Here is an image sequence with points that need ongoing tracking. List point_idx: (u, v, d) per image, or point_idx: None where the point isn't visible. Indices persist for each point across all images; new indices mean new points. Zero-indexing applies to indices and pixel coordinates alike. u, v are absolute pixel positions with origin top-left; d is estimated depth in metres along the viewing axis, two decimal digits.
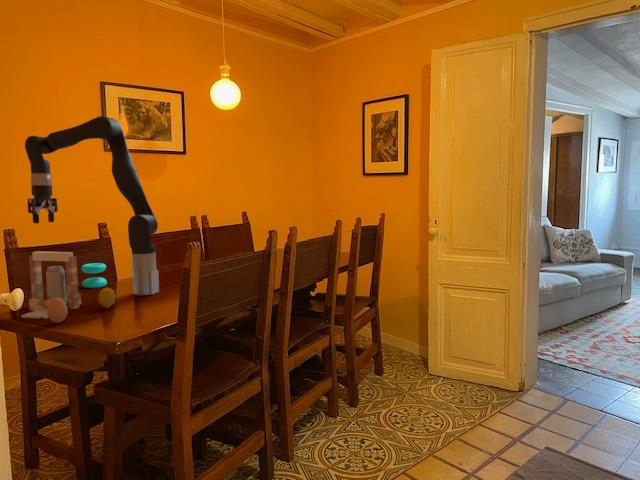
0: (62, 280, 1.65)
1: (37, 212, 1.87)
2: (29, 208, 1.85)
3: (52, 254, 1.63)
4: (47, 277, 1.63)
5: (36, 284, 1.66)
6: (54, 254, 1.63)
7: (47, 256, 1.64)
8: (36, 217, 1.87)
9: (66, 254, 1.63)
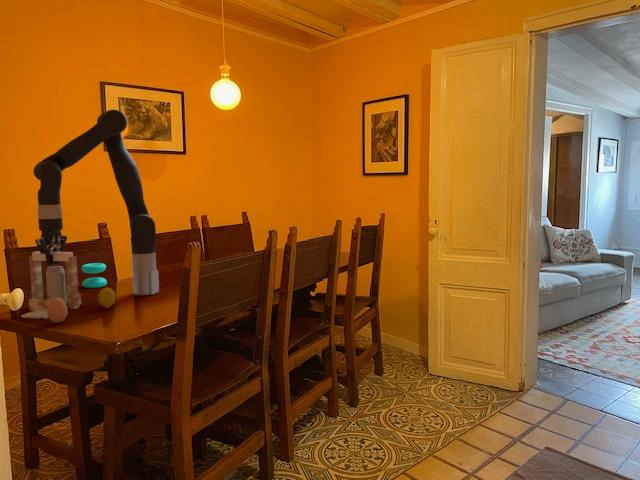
0: (62, 280, 1.65)
1: (51, 253, 1.62)
2: (41, 249, 1.60)
3: (52, 254, 1.63)
4: (47, 277, 1.63)
5: (36, 284, 1.66)
6: (54, 254, 1.63)
7: None
8: (50, 258, 1.63)
9: (66, 254, 1.63)
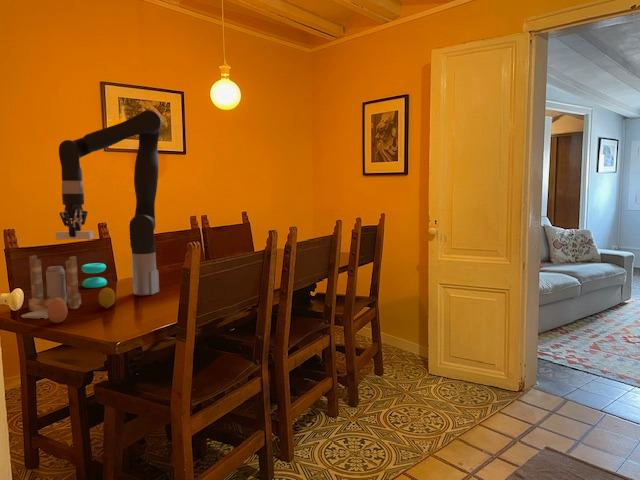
0: (62, 280, 1.65)
1: (73, 225, 1.75)
2: (64, 221, 1.73)
3: None
4: (47, 277, 1.63)
5: (36, 284, 1.66)
6: (76, 233, 1.76)
7: None
8: (72, 230, 1.76)
9: (87, 232, 1.76)
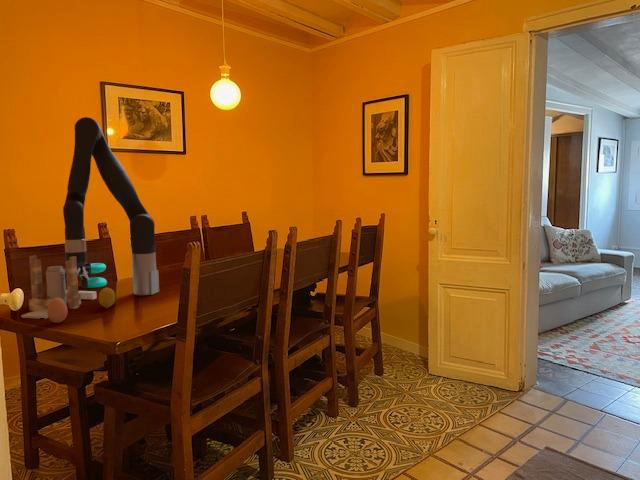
0: (62, 280, 1.65)
1: None
2: None
3: None
4: (47, 277, 1.63)
5: (36, 284, 1.66)
6: None
7: None
8: None
9: (90, 294, 1.78)
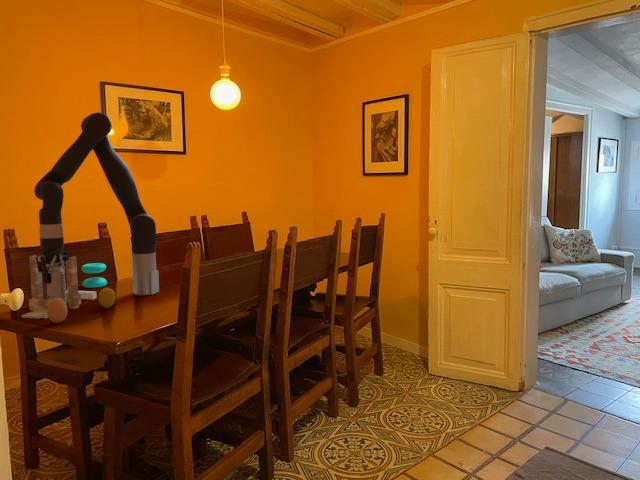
0: (62, 280, 1.65)
1: (49, 271, 1.61)
2: (39, 267, 1.60)
3: None
4: None
5: (36, 284, 1.66)
6: None
7: None
8: (48, 277, 1.62)
9: (90, 294, 1.78)
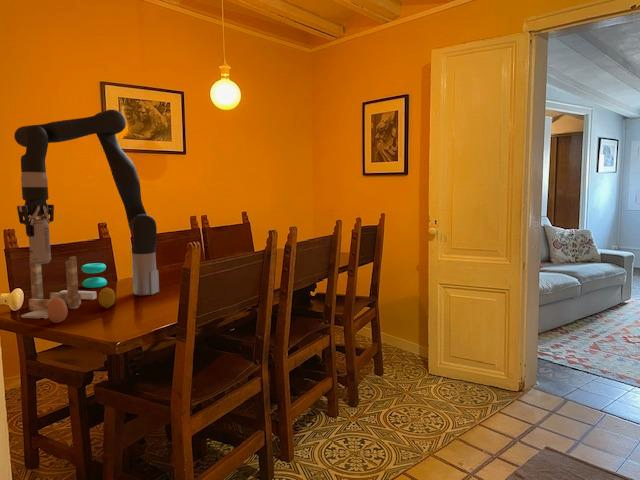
0: (46, 234, 1.53)
1: (31, 223, 1.49)
2: (21, 218, 1.47)
3: None
4: None
5: (36, 284, 1.66)
6: None
7: None
8: (30, 229, 1.49)
9: (90, 294, 1.78)
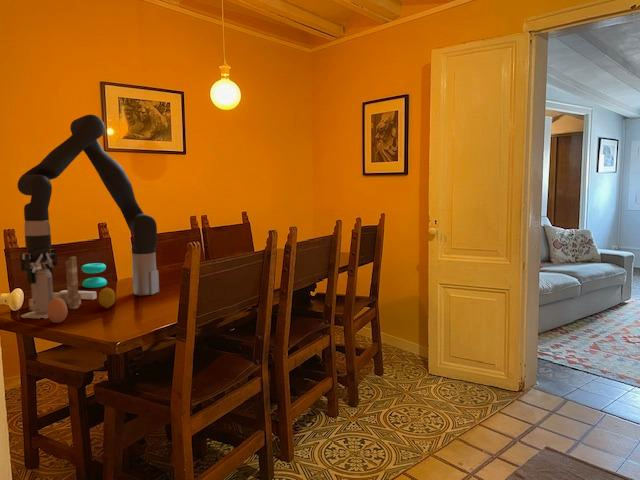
0: (49, 284, 1.54)
1: (33, 270, 1.50)
2: (23, 266, 1.49)
3: None
4: None
5: None
6: None
7: None
8: (32, 276, 1.50)
9: (90, 294, 1.78)
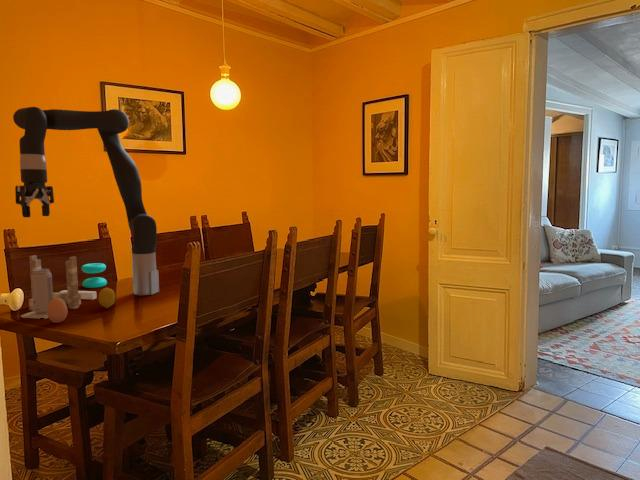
0: (49, 284, 1.55)
1: (28, 203, 1.47)
2: (17, 198, 1.46)
3: None
4: (32, 281, 1.53)
5: None
6: None
7: None
8: (26, 209, 1.48)
9: (90, 294, 1.78)
